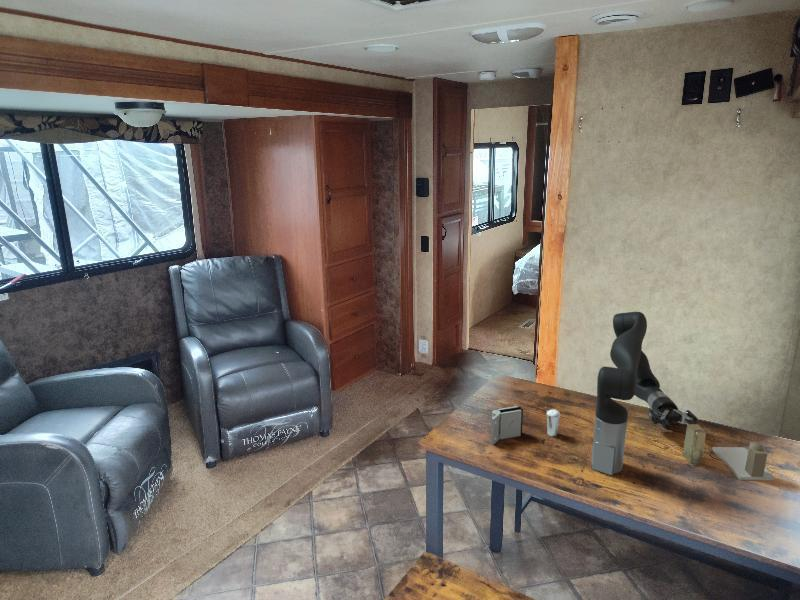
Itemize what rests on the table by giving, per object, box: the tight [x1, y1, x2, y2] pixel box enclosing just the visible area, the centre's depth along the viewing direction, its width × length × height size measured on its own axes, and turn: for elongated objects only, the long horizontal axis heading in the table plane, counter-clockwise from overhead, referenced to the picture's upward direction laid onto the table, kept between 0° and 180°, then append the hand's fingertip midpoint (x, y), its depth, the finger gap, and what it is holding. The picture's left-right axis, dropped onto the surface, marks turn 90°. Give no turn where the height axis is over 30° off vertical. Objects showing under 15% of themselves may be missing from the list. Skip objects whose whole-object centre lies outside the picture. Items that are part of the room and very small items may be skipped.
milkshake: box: [544, 405, 561, 437], centre depth 187 cm, size 4×5×10 cm
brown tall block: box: [682, 424, 707, 467], centre depth 169 cm, size 7×3×11 cm, turn 176°
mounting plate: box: [712, 441, 776, 481], centre depth 167 cm, size 16×10×10 cm, turn 176°
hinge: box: [490, 405, 524, 446], centre depth 186 cm, size 14×5×10 cm, turn 118°
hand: (681, 428), depth 178 cm, fingers open, 8 cm apart
